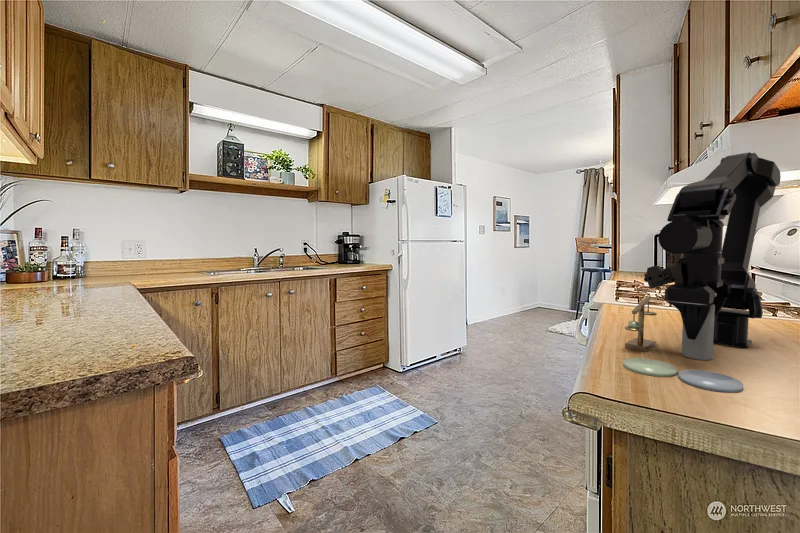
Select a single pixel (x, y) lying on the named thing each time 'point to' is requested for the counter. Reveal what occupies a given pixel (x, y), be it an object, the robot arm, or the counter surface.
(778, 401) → the counter surface
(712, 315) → the planter
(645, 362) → the dish green
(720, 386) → the dish grey
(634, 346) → the balance
